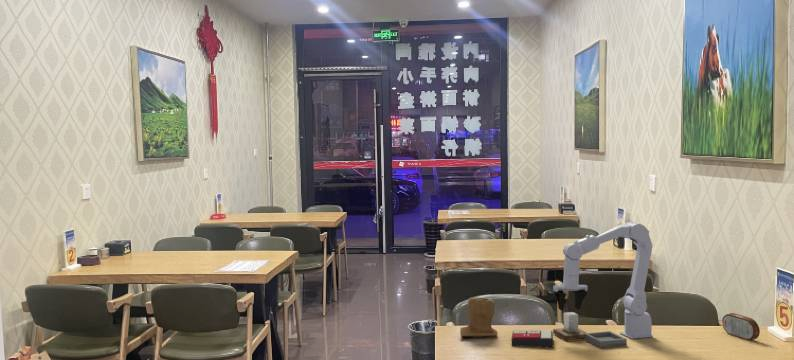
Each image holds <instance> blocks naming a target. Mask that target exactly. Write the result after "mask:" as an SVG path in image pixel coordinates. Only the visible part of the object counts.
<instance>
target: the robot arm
mask: <svg viewBox="0 0 794 360" xmlns="http://www.w3.org/2000/svg"><path fill="white" fill-rule="evenodd" d="M617 238H626V239H628V240H629V239H630V240H631V242H632V243H633V244H634V245H635V246H636V253H635V257H634V264H633V269H632V275H631V279H630V285H629V286H628V288H627V289H626V292H625V294H624V296H623V298H622V301H621V303H622V305H623V307H624V331H620V332H619V334H621V336H622V335H623V336H625V337H627V338H630V339H632V340H633V339H644V338H652V337H653V338H654V335H653V334H652V333H653V332H652V327H653V325H652V317H651V315H650V313H649V312H647V310H648V309H647V308H648V304H647V294H646V291H645V287H646V283H647V277H648V273H649V269H650V262H651V256H652V252H653V242H652V239H651V237H650V230H649V229H648V228H647V227H646V226H645V225H644V224H641V223H636V222H634V221H626V222H625V223H621V224H619V225H616V226H615V227H612V228H611V229H609V230H607V231H604V232H603V233H600V234H598V235H597V236H596V235H593V234H591V235H589V234H587V235H585V237H583V238H581V239H579V240H574V241H573V242H574V243H572V242H569V243H567V244H565V246H564V247H563V249H562V253H563V255H564V261H563V262H564V264H563V280H562V281H563V282H562V283H563V284H558V285H553V287H552V292H553V294H554V296H555V299H556V302H557V307H558V310H559V311H564V308H565V298H566V296H567V293H565V292H571V291H572V292H574V309H576V310H581V306H582V304H583V301H584V299H585V297H586V296H587V295H588V285H587V284H579V280H580V279H579V278H580V262H581V260H580V259H581V258H582V257H583V255H587V254H588V253H591V252H593V251H595V250H599V249H600V245H601V244H604V243H607V242H610V241H612V240H616V239H617Z"/></svg>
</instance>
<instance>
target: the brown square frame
mask: <svg viewBox="0 0 794 360" xmlns="http://www.w3.org/2000/svg"><path fill="white" fill-rule="evenodd" d="M552 333H553V335H554V334H555V336H556V335H557V336H556V337H558V338H559V337H560V338H559V339H561V338H562V339H561V340H563V339H564V340H563V341H565V342H569V341H568V340H572V341H578V340H577V339H583V340H584V333H588V332H587V331H585V330H583V329H581V328H579V327H578V333H572V334H567V333H566V332H564V327H560V328H553V329H552Z"/></svg>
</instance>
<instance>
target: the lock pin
mask: <svg viewBox="0 0 794 360" xmlns="http://www.w3.org/2000/svg"><path fill="white" fill-rule="evenodd" d="M563 328H564V332H566V333H567V334H572V333H578V328H579V314H578V313H576V312H574V311H570V312H569V311H568V312H563Z"/></svg>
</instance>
